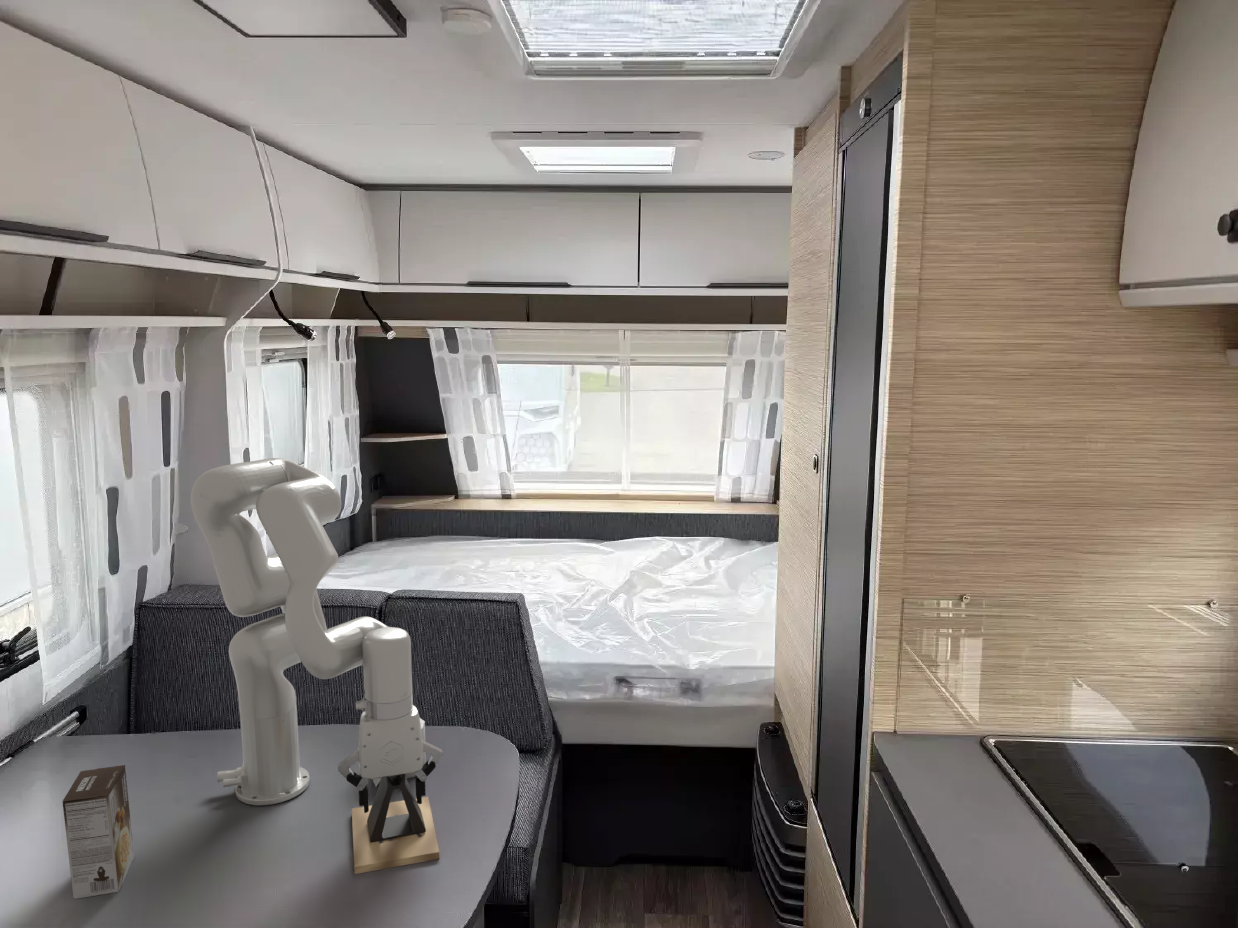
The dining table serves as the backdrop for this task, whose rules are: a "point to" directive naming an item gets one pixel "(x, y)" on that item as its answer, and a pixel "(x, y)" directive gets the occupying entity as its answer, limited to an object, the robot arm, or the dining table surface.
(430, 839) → the marked board
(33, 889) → the dining table surface
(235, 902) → the dining table surface
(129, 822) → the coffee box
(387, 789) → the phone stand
